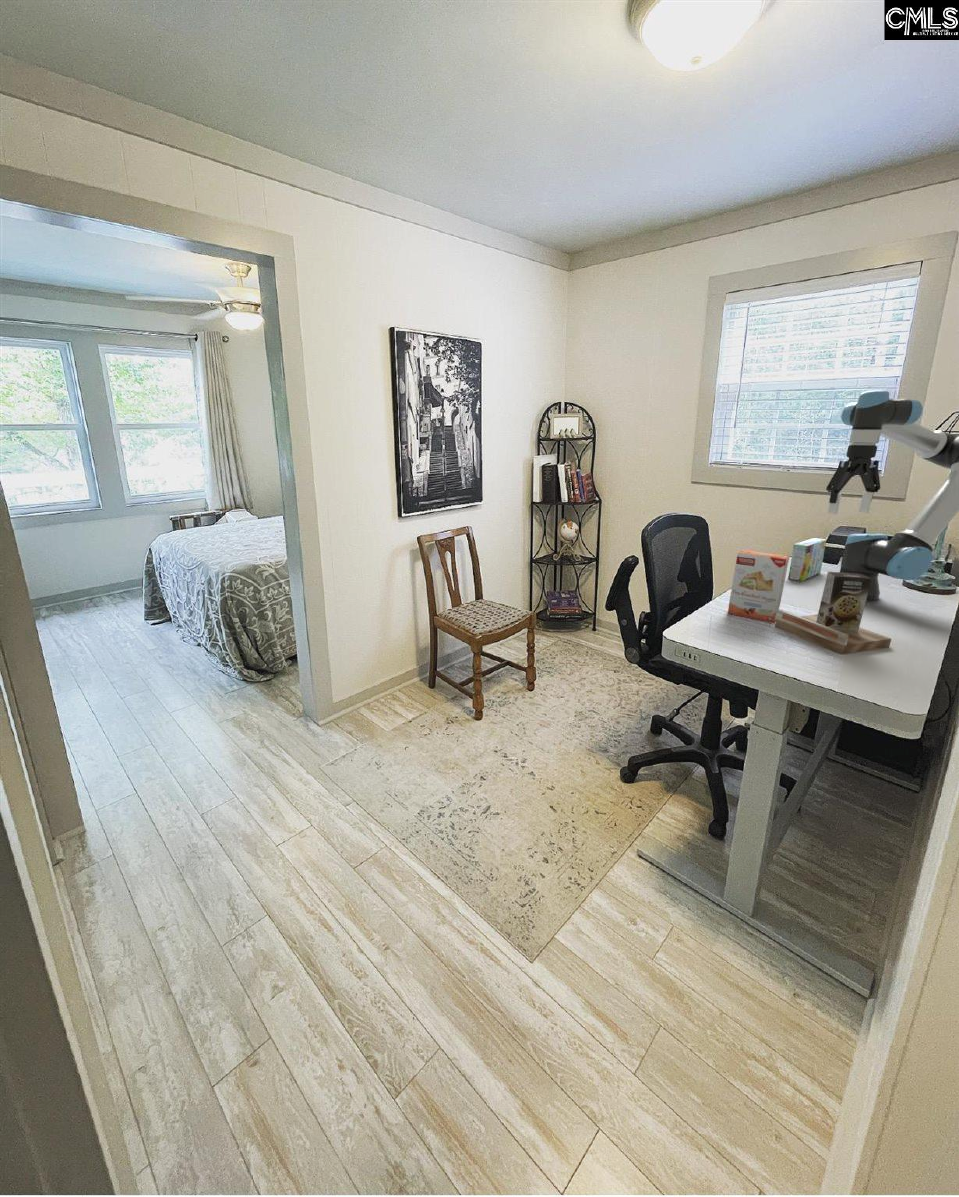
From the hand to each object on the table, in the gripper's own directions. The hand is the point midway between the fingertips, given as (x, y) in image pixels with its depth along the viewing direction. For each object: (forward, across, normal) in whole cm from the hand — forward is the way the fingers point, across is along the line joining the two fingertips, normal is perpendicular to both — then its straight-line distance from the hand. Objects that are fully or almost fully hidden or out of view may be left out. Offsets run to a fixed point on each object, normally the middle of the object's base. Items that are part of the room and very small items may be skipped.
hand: (848, 513), depth 170 cm
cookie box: (+30, +21, +20) cm, 42 cm away
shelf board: (+33, +23, +20) cm, 45 cm away
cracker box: (+33, +31, -1) cm, 45 cm away
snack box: (+33, -31, -37) cm, 58 cm away
